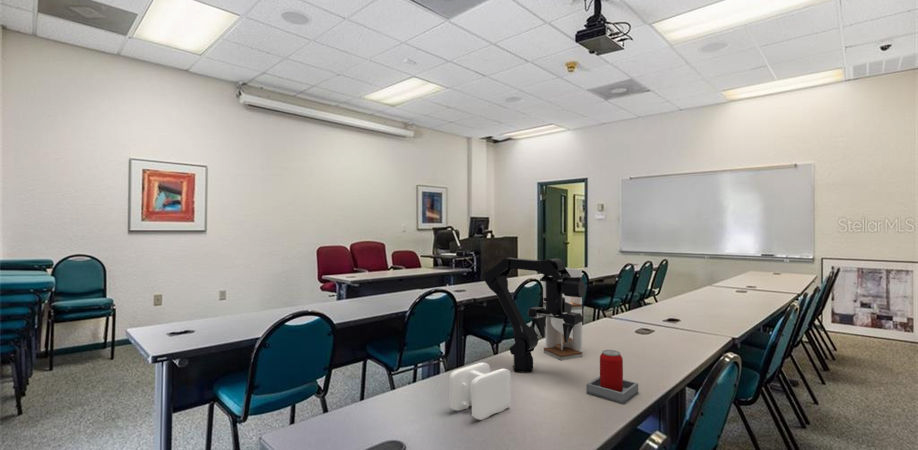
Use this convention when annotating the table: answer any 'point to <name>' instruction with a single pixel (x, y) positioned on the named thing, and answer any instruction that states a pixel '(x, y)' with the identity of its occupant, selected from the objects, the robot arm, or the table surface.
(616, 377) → the beverage can
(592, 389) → the coaster tray
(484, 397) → the cable organizer
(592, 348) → the table surface
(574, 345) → the display case
